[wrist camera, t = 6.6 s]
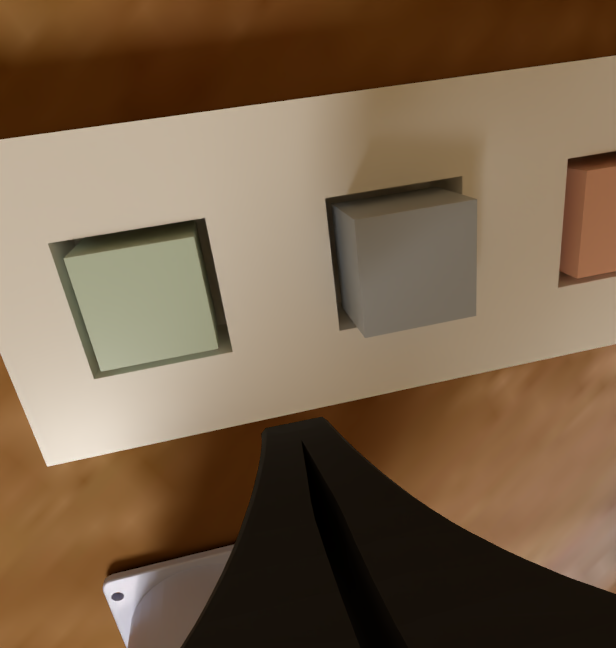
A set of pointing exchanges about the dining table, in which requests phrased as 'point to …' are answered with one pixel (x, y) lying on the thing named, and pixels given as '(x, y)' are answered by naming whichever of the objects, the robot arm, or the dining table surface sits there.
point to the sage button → (144, 294)
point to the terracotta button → (589, 216)
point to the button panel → (298, 248)
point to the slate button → (406, 259)
